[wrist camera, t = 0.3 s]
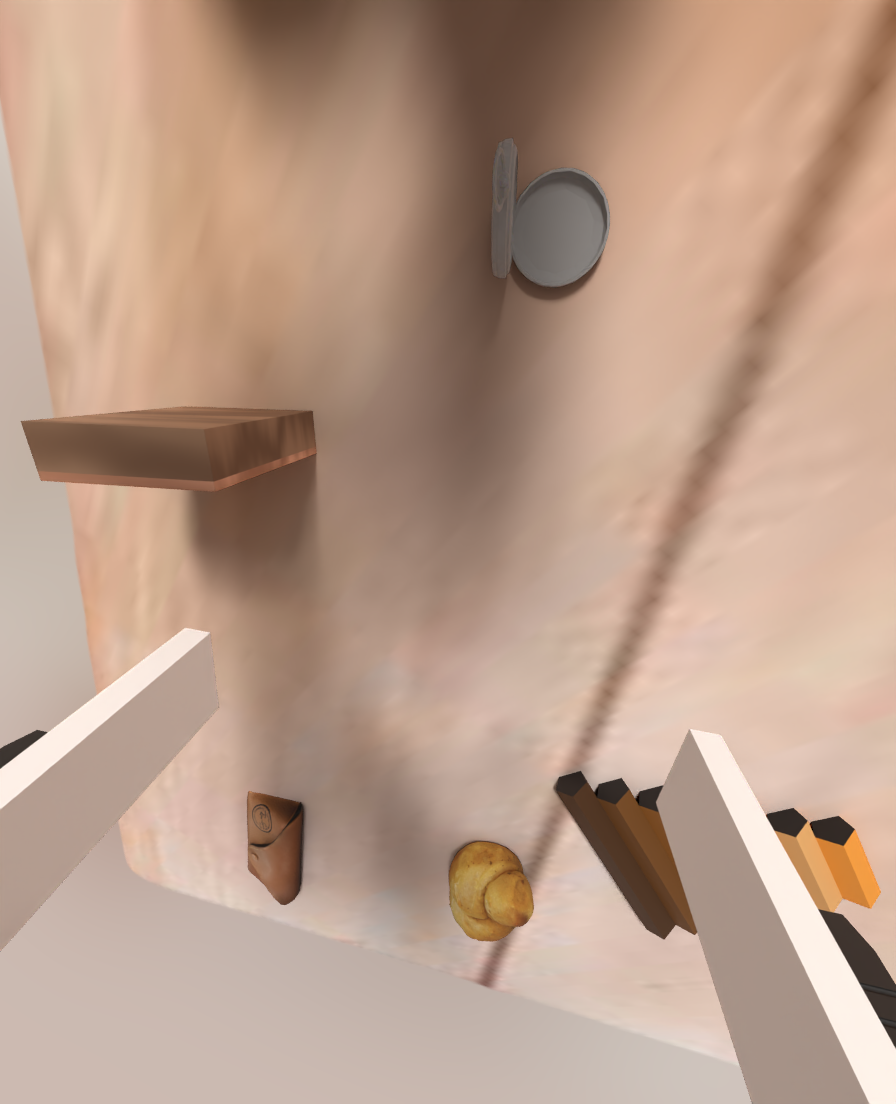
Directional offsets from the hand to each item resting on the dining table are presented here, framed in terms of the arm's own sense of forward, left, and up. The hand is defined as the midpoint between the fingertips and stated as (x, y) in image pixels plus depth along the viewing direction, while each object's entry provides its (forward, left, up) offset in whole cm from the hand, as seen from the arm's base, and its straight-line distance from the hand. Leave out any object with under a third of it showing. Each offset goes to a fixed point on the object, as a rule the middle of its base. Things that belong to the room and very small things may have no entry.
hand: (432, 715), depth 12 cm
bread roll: (+50, +2, -28) cm, 57 cm away
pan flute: (+37, +26, -28) cm, 53 cm away
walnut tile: (-4, -22, -28) cm, 35 cm away
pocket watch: (-18, +2, -28) cm, 33 cm away
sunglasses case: (+52, -27, -28) cm, 65 cm away
